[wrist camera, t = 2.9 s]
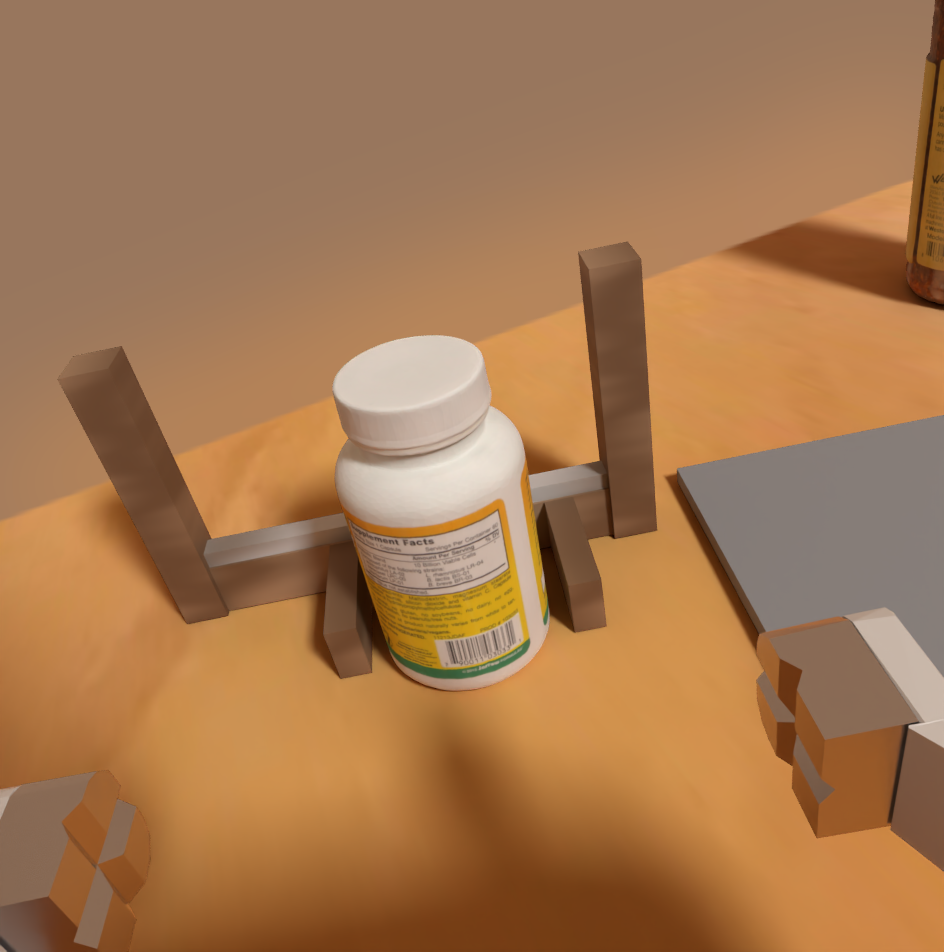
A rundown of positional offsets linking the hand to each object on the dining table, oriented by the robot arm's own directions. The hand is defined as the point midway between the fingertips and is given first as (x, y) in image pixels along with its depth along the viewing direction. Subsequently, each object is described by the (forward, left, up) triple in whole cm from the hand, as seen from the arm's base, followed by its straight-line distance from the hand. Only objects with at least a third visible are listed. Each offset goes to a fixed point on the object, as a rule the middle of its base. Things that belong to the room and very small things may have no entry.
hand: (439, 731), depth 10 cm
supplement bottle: (0, +12, -11) cm, 16 cm away
